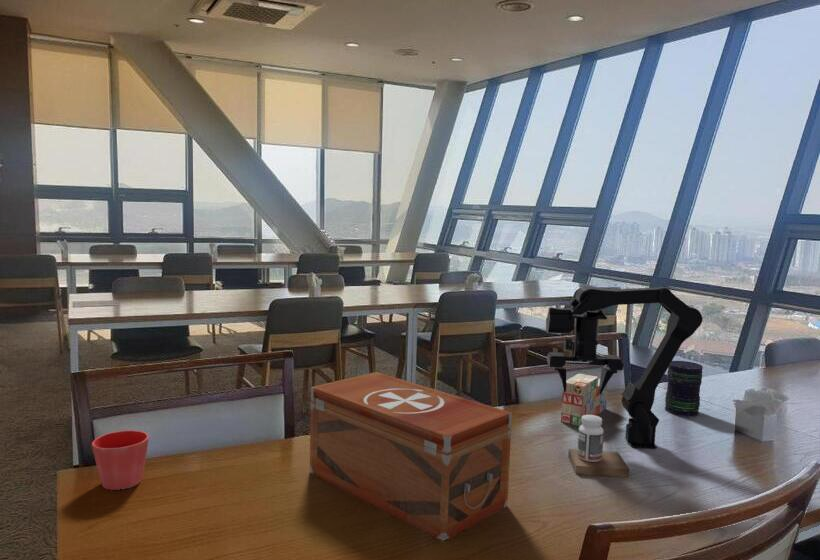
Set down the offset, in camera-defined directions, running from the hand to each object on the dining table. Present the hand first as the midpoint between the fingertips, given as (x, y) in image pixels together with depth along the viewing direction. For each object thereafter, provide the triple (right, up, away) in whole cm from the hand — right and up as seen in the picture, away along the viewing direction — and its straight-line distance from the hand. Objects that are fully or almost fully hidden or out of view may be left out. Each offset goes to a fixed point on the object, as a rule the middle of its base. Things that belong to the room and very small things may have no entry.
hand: (582, 392), depth 163 cm
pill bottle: (-3, -13, -15) cm, 20 cm away
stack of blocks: (+7, -11, +22) cm, 26 cm away
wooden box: (-47, -16, -30) cm, 58 cm away
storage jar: (+39, -11, +29) cm, 49 cm away
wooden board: (-1, -15, -15) cm, 21 cm away
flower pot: (-107, -14, -31) cm, 113 cm away
